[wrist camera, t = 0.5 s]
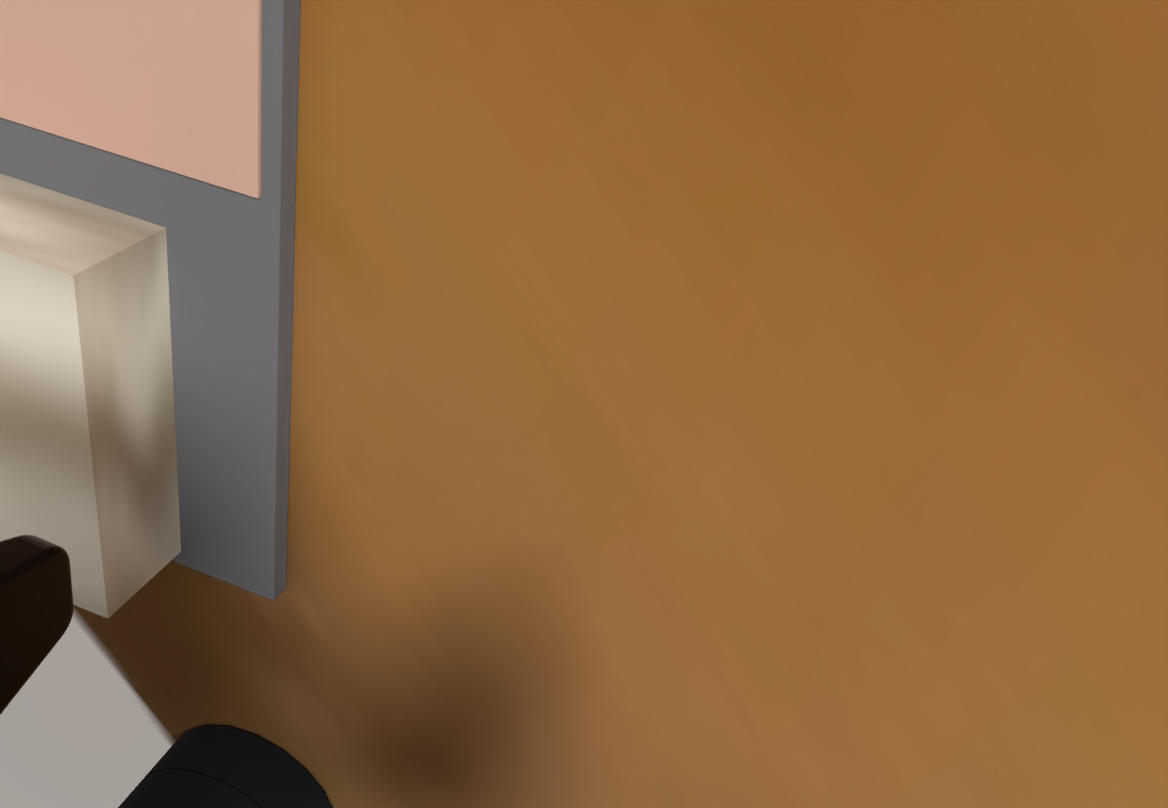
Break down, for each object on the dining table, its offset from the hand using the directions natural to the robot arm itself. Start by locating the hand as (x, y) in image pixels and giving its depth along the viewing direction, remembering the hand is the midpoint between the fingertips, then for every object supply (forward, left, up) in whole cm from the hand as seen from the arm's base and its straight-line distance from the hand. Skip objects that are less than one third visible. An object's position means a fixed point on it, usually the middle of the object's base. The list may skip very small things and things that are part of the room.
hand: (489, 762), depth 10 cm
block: (-9, +16, -13) cm, 23 cm away
